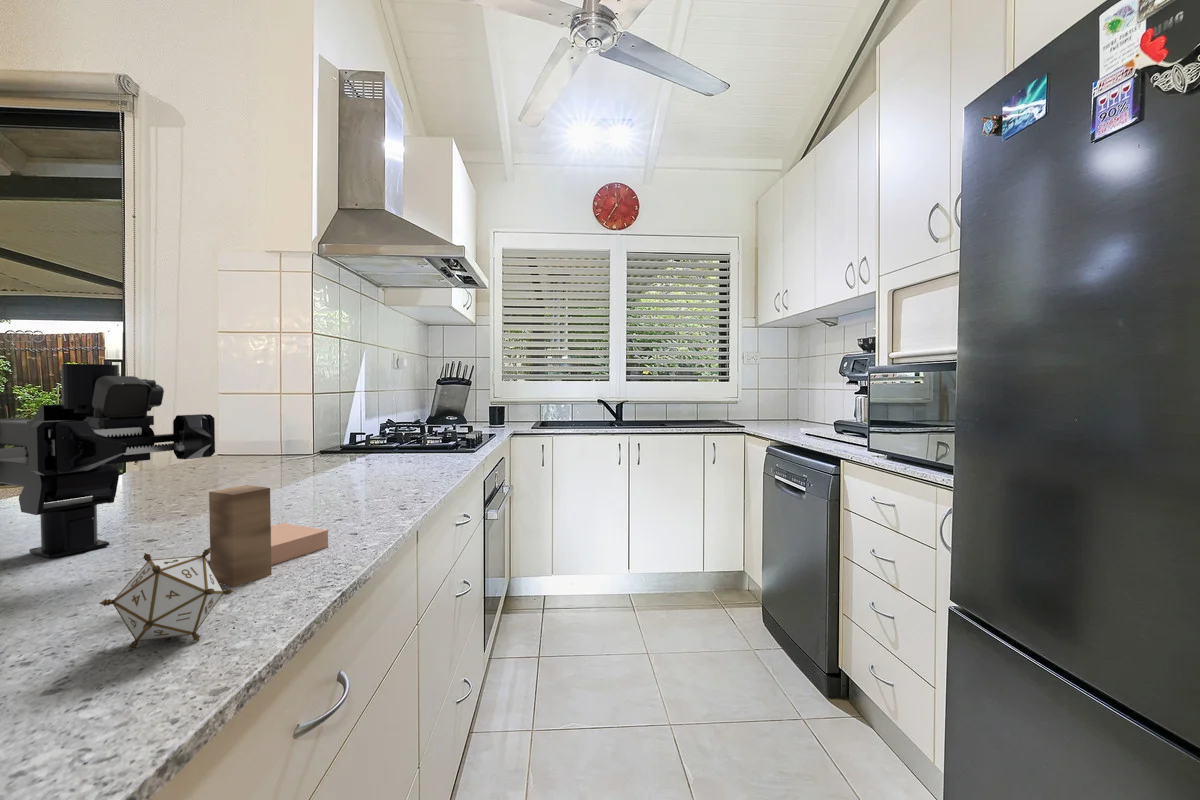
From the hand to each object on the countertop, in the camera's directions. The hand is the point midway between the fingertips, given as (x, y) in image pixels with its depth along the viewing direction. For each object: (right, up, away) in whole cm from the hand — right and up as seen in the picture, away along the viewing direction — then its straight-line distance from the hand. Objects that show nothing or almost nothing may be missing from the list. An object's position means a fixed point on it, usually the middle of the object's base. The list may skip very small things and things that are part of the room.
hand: (170, 444), depth 64 cm
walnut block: (+9, -17, 0) cm, 19 cm away
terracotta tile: (+7, -16, +9) cm, 20 cm away
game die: (+13, -17, -16) cm, 27 cm away
